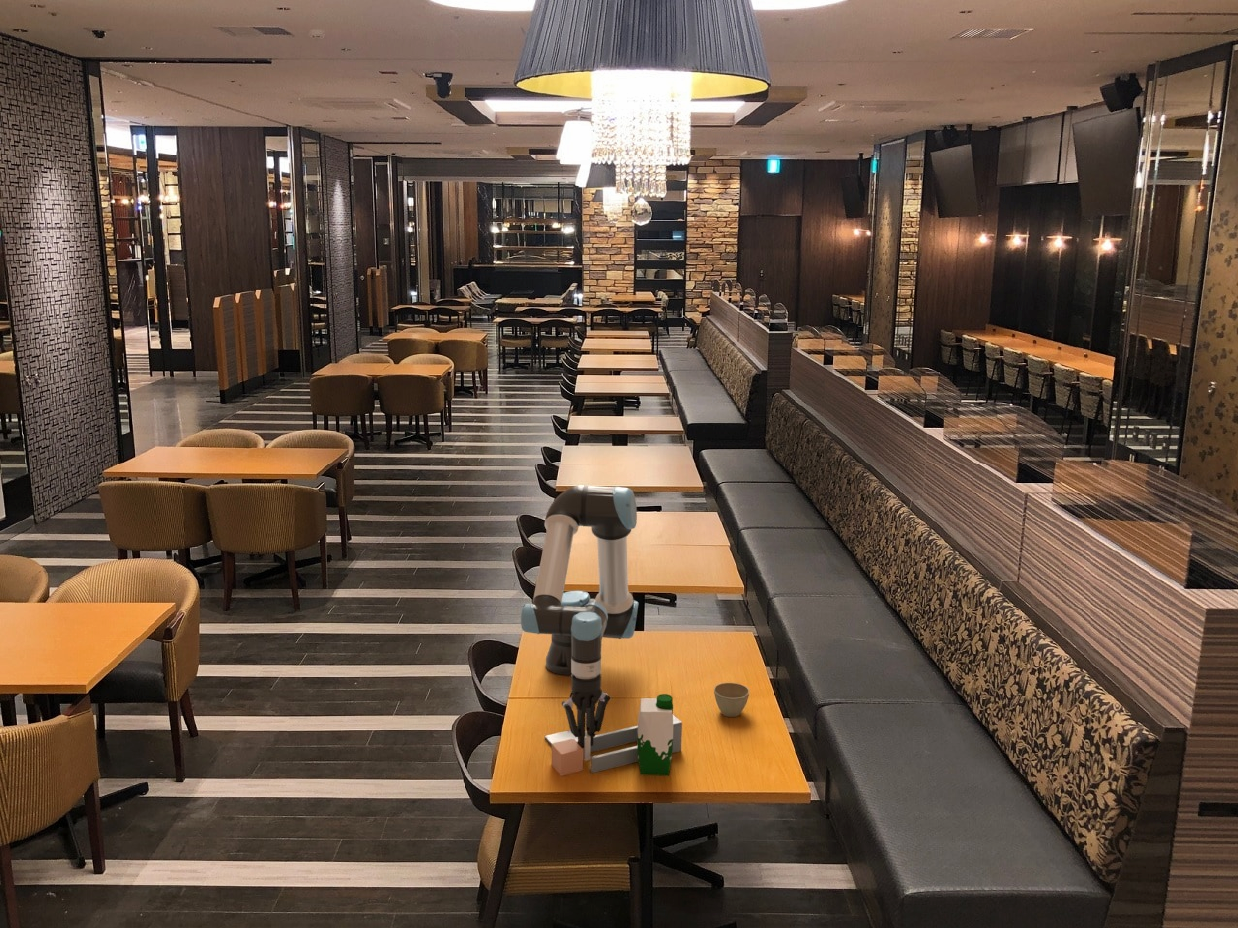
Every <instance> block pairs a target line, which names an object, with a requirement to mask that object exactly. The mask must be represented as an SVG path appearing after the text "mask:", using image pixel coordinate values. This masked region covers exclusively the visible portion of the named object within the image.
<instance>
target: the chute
mask: <svg viewBox="0 0 1238 928" xmlns="http://www.w3.org/2000/svg"><path fill="white" fill-rule="evenodd" d="M682 731H683V722H682V721H681V720H680V719H679V718H678V717H676V716H675V715H674V714H673V751H672V754H674V753H678V752H682V737H683V736H682V735H683V734H682ZM637 738H638V725H634V726H629V727H625V728H622V729H617V730H613V731H609V732H604V733H599V734H596V735H595V736H594V737H593V746H590V753H592V752H597V751H601V750H606V749H610V748H614V747H619V746H622V745H626V744H631V743H634V742H636V743H637ZM575 741H576V742H577V743H578V739H577V740H575ZM634 763H639V760H638V750H637V745H634V746H631V747H626V748H622V749H619V750H618V749H617V750H614V751H610V752H606V753H602V754H597V755H593V756H590V773H591V774H594V773H597V772H602V771H606V770H610V769H614V768H619V767H622V766H625V765H629V764H634Z"/></svg>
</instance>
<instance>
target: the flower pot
mask: <svg viewBox="0 0 1238 928" xmlns="http://www.w3.org/2000/svg"><path fill="white" fill-rule="evenodd" d="M713 693H714V699H715V702H716V705H717V707H718V709H719V711H720V713H721V714H722V715H723V716H725V717H728V718H736V717H738V716H740V714H742V712H743V710H744V709H745V707H746V705H747V703H748V699H749V696H750V689H749V688H748V687H747V686H745V685H743V684H741V683H736V682H722V683H720V684H719V683H718V684H716V686H715V687H714V688H713Z"/></svg>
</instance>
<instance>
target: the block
mask: <svg viewBox="0 0 1238 928" xmlns="http://www.w3.org/2000/svg"><path fill="white" fill-rule="evenodd" d="M551 767H553V768H554V770H556V771H557V773H558V774H559V775H560V776H561V777H562V776H567V775H571V774H574V773H578V772H582V771H583V770H584V769H583V768H584V759H583V749H582V748H581V747H580V745H579V744H578V743H577V742H576V741H575V740H574V739H569V740H565V741H561V742H556V743H552V746H551Z"/></svg>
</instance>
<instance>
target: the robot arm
mask: <svg viewBox="0 0 1238 928" xmlns="http://www.w3.org/2000/svg"><path fill="white" fill-rule="evenodd" d="M544 518H545V520H544V527H545V529H546V532H545V537H544V544H543V548H542V552H541V553H542V554H541V558H540V563H539V569H538V571H537V572H538V574H537V579H536V583H535V588H534V593H533V598H532V603H525V604H523V606H522V609H521V613H520V626H521V629H522V631H523V632H524V633H529V634H536V635H551V642H550V646H549V648H548V651H547V655H546V658H545V668H546V669H547V670H548V671H549V672H551V673H554V674H556V675H560V676H561V675H562V676H570V679H571V680H570V683H571V685H570V690H571V692H570V694H569V698H568V699H567V700H566V701H565V700H563V701H561V703H560V704H561V706H562V707H563V708H564V711H565V714H566V718H567V721H568V727H569V730H570V731H571V733H572V734H573V735H574V736H575V737H578V744H579V745H580V747H581V748H582V749H583V761H585V762H586V761H591V752H590V746H593V737H594V736H595V735H597V734H596V733H599V732H601V729H602V725H603V721H604V719H605V718H604V717H605V713H606V708H607V705H608V703H609V701H610V700H611V696H610V695H609V694H608V693H607V692H603V690H602V689H601V687H602V674H601V672H602V641H603V639H605V638H606V639H607V638H608V639H618V640H622V639H631V638H633V637H634V634H635V629H636V622H637V617H638V616H637V615H638V610H639V609H638V608H639V602H638V601H637V600H635V599H634V597H633V595H632V594H631V592H629V582H628V581H629V580H628V578H629V577H628V573H629V572H628V551H627V550H628V543H627V542H628V540H627V539H628V538H627V537H628V536H629V535H630V534H631V532H632V530H633V529H635V528H636V527H637V520H638V515H637V500H636V496H635V493H634V491H633V490H632V489H631V488H628V487H623V486H622V487H621V486H600V485H599V486H597V485H595V486H594V485H585V484H584V485H583V484H578V485H574V486H571V487H569V488H568V489H566V490H564V491H563V492H561V493H560V494H559V495H558V496H557V497H556V498H555V499H554V501H553V502H552V503H551V504H550V506H549V508H548V509H547V512H546V514H545V517H544ZM579 527H590V528H591V532H592V534H593V536H595V537H596V539H597V543H596V544H597V563H598V566H597V567H598V582H599V583H598V585H599V592H598V593H597V594H596V596H595V597H594V598H591V596H590V594H589V593H588V592H587V591H584V590H570V591H566V592H564V591H565V586H566V579H567V574H568V568H569V563H570V556H571V552H572V545H573V539H574V535H576V534H577V533H578V530H579ZM596 704H597V705H596ZM573 705H575V707H576V711H577V713H576V718H575V713H574V711H573V708H574V706H573Z"/></svg>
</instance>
